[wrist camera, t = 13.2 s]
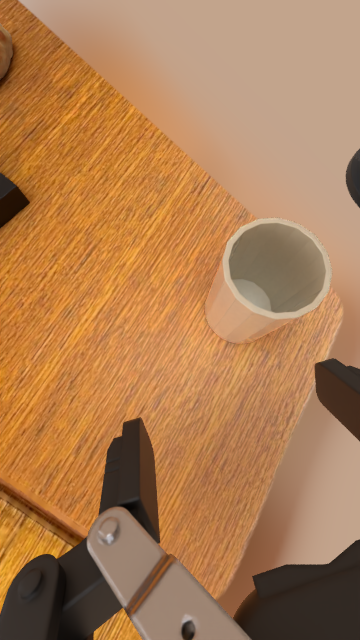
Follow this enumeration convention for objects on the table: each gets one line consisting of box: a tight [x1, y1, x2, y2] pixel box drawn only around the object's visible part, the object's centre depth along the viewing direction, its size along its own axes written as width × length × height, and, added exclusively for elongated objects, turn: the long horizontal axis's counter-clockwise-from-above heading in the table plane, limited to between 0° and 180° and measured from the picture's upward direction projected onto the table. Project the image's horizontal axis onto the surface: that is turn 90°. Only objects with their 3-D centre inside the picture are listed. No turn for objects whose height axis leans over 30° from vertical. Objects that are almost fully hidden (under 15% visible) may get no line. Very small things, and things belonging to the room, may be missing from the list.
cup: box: [205, 218, 332, 344], centre depth 21 cm, size 7×7×10 cm
